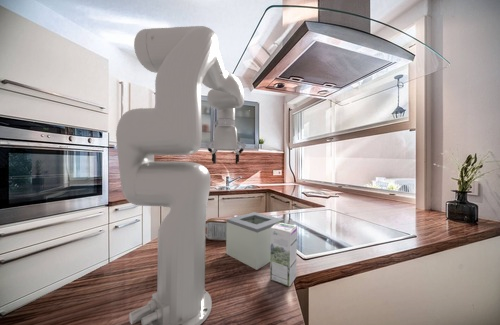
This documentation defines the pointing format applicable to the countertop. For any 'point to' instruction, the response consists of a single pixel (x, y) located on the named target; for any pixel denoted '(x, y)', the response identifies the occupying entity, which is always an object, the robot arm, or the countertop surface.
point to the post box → (250, 238)
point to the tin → (216, 229)
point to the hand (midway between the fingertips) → (225, 163)
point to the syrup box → (283, 253)
